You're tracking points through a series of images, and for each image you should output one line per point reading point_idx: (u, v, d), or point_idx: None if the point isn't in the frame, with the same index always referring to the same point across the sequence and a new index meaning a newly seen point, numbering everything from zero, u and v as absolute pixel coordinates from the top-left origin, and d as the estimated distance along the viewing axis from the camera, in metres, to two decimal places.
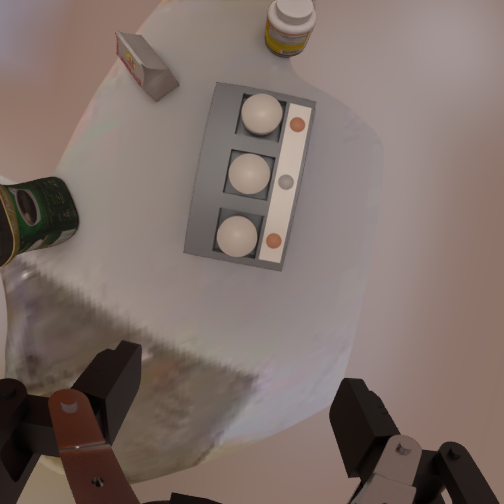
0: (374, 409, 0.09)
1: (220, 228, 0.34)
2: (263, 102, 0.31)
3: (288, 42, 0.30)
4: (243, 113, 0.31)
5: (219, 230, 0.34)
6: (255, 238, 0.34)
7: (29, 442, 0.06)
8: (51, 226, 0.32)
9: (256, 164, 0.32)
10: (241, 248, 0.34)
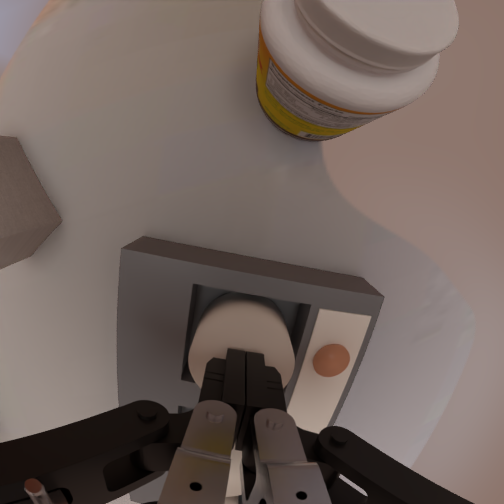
0: (260, 381, 0.10)
1: None
2: (245, 342, 0.12)
3: (330, 124, 0.10)
4: (193, 367, 0.12)
5: None
6: None
7: (166, 461, 0.07)
8: None
9: (231, 467, 0.12)
10: None
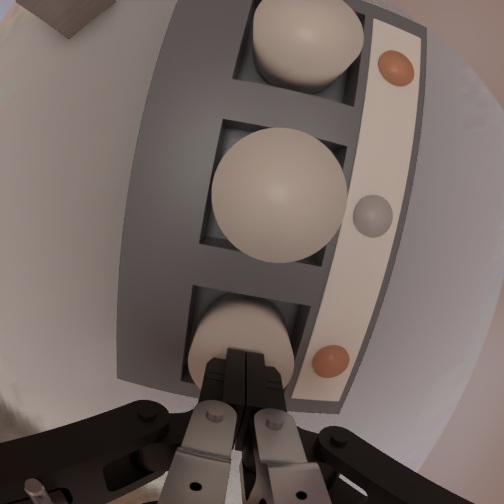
0: (260, 381, 0.10)
1: (196, 345, 0.12)
2: (312, 4, 0.09)
3: None
4: (259, 25, 0.09)
5: (193, 350, 0.12)
6: (289, 368, 0.12)
7: (166, 462, 0.07)
8: None
9: (305, 163, 0.10)
10: None
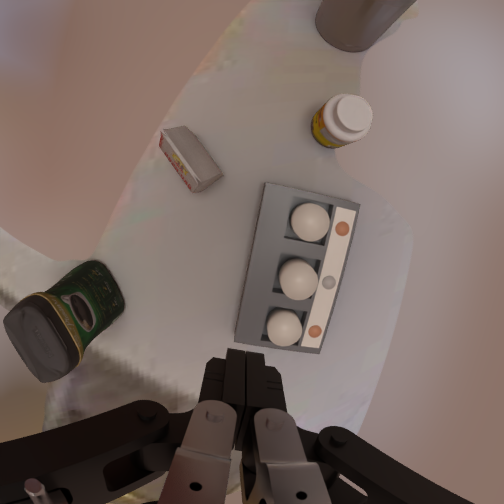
0: (260, 381, 0.10)
1: (271, 324, 0.38)
2: (313, 213, 0.35)
3: (339, 144, 0.33)
4: (294, 224, 0.36)
5: (270, 326, 0.38)
6: (300, 331, 0.39)
7: (166, 461, 0.07)
8: (104, 321, 0.35)
9: (306, 274, 0.36)
10: (288, 340, 0.39)
